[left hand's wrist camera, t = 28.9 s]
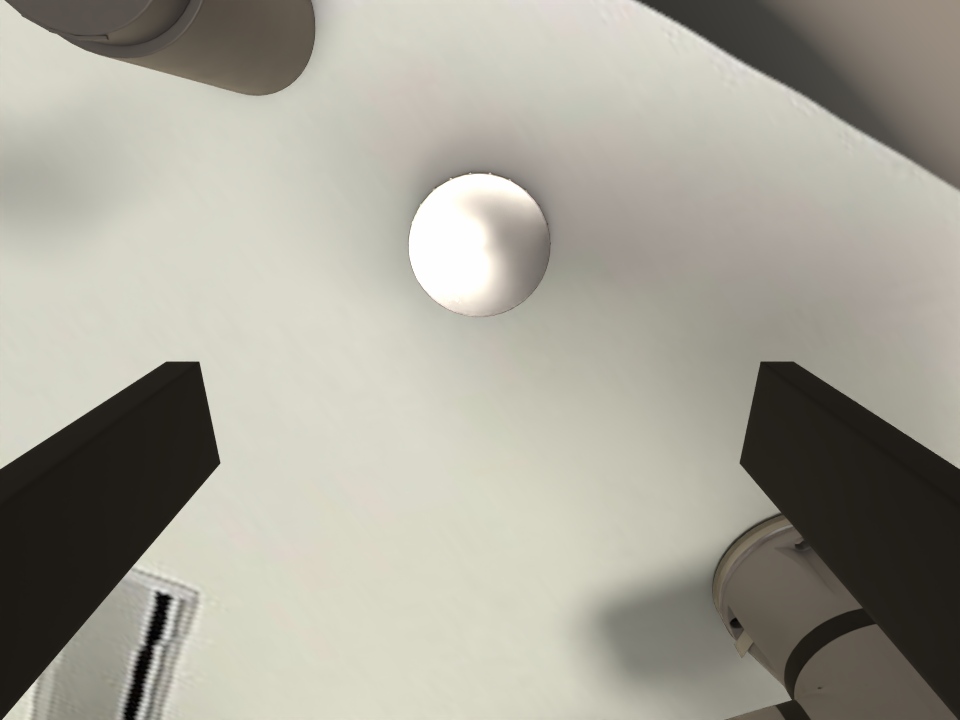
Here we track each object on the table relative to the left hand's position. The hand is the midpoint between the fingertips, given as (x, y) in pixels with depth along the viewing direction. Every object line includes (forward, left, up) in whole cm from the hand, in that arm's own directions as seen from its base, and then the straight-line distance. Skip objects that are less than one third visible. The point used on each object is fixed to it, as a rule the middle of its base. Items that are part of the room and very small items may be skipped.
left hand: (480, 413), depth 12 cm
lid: (0, 0, -24) cm, 24 cm away
